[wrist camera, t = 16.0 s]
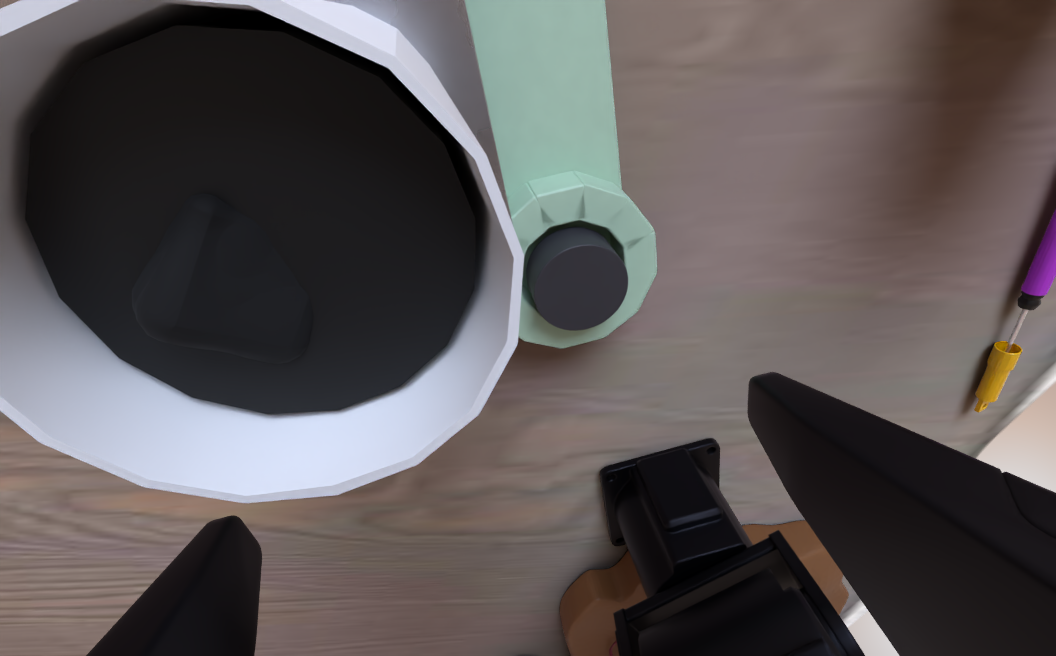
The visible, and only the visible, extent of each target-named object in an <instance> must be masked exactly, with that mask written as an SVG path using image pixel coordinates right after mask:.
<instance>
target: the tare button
mask: <svg viewBox="0 0 1056 656" xmlns="http://www.w3.org/2000/svg"><path fill="white" fill-rule="evenodd" d="M526 279H527V284H528V287H529V290H530V292H531V295H532V297H533V300H534V303H535V305H536V308H537V310H538V312H539V313H540V315H541V316H542V317H543V318H544V319H545V320H546V321H547V322H548V323H550V324H551V325H553V326H555V327H557V328H560V329H564V330H570V331H578V330H585V329H589V328H592V327H595V326H597V325H599V324H601V323H603V322H605V321H606V320H607V319H609V318H610V317H611V316H612V315H613V314H614V313H615V312H616V311H617V310H618V309H619V307H620V306H621V304H622V302H623V301H624V298H625V296H626V293H627V289H628V273H627V269H626V267H625V265H624V263H623V261H622V260H621V258H620V257H619V256H618V254H617V253H616V252H615V250H614V249H613V248H612V247H611V245H610V244H609V243H608V241H607V240H606V239H605V238H604V237H603V236H602V235H601V234H599V233H598V232H596V231H594V230H591V229H588V228H584V227H568V228H563V229H560V230H557V231H555V232H553V233H551V234H550V235H548V236H546V237H545V238H544V239H543V240H541V241H540V242H539V243H538V245H537V246H536V247H535V248H534V250H533V251H532V253H531V255H530V257H529V260H528V263H527V268H526Z"/></svg>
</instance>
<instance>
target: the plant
mask: <svg viewBox="0 0 1056 656" xmlns="http://www.w3.org/2000/svg"><path fill="white" fill-rule="evenodd" d="M742 527H743V529H744V531H745V532H746V534H747V536H748V537H749V539H750V541H751V542H752V544H753V545H754V544H756V543H758V542H760V541H762V540H764V539H766V538H768V537H769V536H768V535H769V534H771V533H773V532H775V531H777V530H779V531H780V532H781V533H782V535H783V536H784V538H785V539H786V540H787V542H788V543H789V545H790V546H791V548H792V549H793V550H794V552H795V553H796V555H797V556H798V557H799V559H800V560H801V562H802V563H803V564H804V566H805V567H806V569H807V570H808V572H809V573H810V574H811V576H812V577H813V579H814V580H815V581H816V583H817V584H818V586H819V587H820V588H821V590H822V591H823V593H824V594H825V596H826V597H827V598H828V600H829V601H830V603H831V604H832V606H833V607H834V609H835V610H836V612H837V613H838V614H840V612H841V610H842V608H843V607H844V605H845V603H846V601H847V599H848V596H849V594H848V591H847V589H846V588H845V586H844V585H843V583H842V577H843V573H842V572H841V570H840V569H839V567H838V566H837V565H836V563H835V562H834V560H833V559H832V557H831V556H830V554H829V553H828V552H827V550H826V549H825V547H824V546H823V544H822V543H821V541H820V540H819V539H818V537H817V536H816V534H815V533H814V531H813V530H812V529H811V527H810V526H809V524H808V523H807V521H806V520H804V521H794V522H789V523H785V524H779V525H758V524H751V525H743V526H742ZM645 599H647V597H646V594H645V592H644V589H643V586H642V584H641V581H640V579H639V576H638V573H637V571H636V568H635V566H634V563H633V560H632V558H631V555H630V552H629V550H628V551H627V552H626V554H625V555H624V556H623V558H622V559H621V560H620V561H619V562H618V563H617V564H616V565H615V566H613V567H611V568H609V569H596V570H588V571H586V572H585V573H584V574H582V575H581V576H580V577H579V578H578V579H577V580H576V581H575V582H574V583H573V584H572V585H571V586H570V587H569V588H568V590H567V591H566V593H565V594H564V596H563V598H562V600H561V603H560V617H561V622H562V627H563V631H564V635H565V639H566V643H567V646H568V649H569V652H570V656H619V652H618V646H617V641H616V635H615V631H616V626H615V620H614V615H613V613H614V612H616V611H618V610H620V609H622V608H624V609H627V608H629V607H631V606H633V605H635V604H637V603H639V602H641V601H643V600H645Z"/></svg>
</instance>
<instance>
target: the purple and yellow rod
mask: <svg viewBox="0 0 1056 656" xmlns="http://www.w3.org/2000/svg"><path fill="white" fill-rule="evenodd" d="M1055 276H1056V209H1055V211H1054V214H1053V216H1052V218H1051V220H1050V222H1049V225H1048V227H1047V230H1046V232H1045V234H1044V236H1043V239H1042V241H1041V243H1040V246H1039V248H1038V250H1037V253H1036V255H1035V257H1034V259H1033V262H1032V264H1031V266H1030V269H1029V271H1028V273H1027V275H1026V277H1025V280H1024V282H1023V285H1022V287H1021V290H1022V291H1021V293H1022V295H1021V296H1020V297H1019V298H1018V306H1019V307H1020V308H1022V312H1021V314H1020V316H1019V318H1018V320H1017V323H1016V325H1015V327H1014V329H1013V332H1012V334H1011V336H1010V338H1009V340H1008V342H1007V341H999V342H996V343H995V344H994V346H993V349H992V351H991V353H990V356H989V358H988V360H987V363H988V366H987V368H986V370H985V373H984V375H983V377H982V379H981V382H980V384H979V386H978V389H977V391H976V393H975V395H976V397H977V398H978V403H977V405H976V407H975V409H974V410H975V411H976V412H980V411H982V410H984V409H986V408H987V406H988V403H989V402H995V401H996V400H997V398H998V396H999V394H1000V392H1001V390H1002V387H1003V385H1004V383H1005V381H1006V379H1007V377H1008V375H1009V373H1010V371H1011V370H1013V369H1014V367H1015V365H1016V363H1017V361H1018V359H1019V357H1020V355H1021V353H1022V349H1021V347H1020V346H1018V345H1017V344H1014V343H1013V342H1014V340H1015V338H1016V336H1017V333H1018V331H1019V329H1020V327H1021V325H1022V323H1023V320H1024V318H1025V316H1026V314H1027V312H1028V310H1034V309H1036V308H1037V307H1038V306H1039V305H1040V304H1041V300H1040V299H1041V298H1043V297H1044V295H1046V294H1047V293H1048V291H1049V289H1050V287H1051V284H1052V282H1053V280H1054V278H1055Z"/></svg>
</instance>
